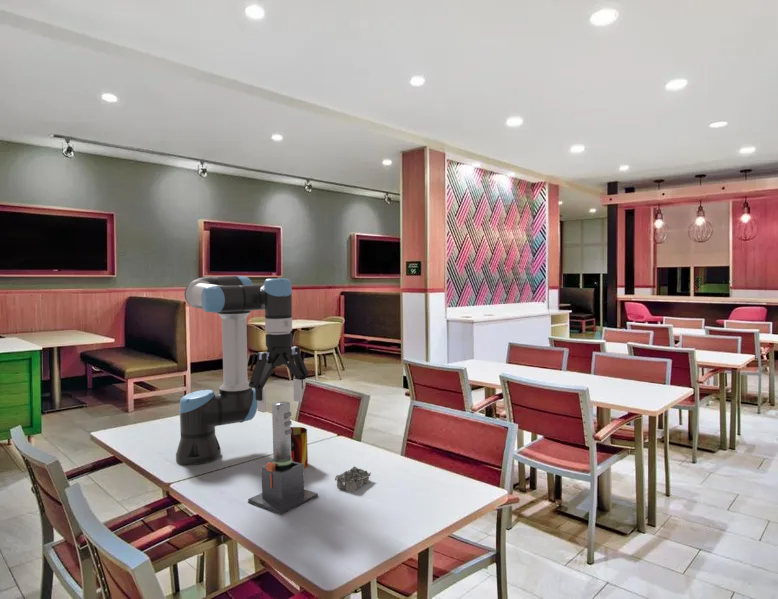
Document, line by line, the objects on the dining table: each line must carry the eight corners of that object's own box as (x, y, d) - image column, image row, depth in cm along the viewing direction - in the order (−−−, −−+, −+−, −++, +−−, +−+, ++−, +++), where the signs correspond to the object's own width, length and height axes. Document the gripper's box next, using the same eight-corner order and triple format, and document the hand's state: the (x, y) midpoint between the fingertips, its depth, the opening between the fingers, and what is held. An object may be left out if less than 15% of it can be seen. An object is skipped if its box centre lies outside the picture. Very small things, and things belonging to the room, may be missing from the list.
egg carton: (351, 493, 156) (350, 480, 155) (332, 488, 160) (332, 474, 160) (373, 481, 164) (373, 469, 164) (355, 476, 169) (354, 464, 168)
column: (269, 473, 150) (267, 404, 150) (283, 467, 155) (281, 400, 154) (283, 477, 147) (281, 407, 146) (297, 471, 151) (295, 402, 150)
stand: (248, 502, 150) (247, 461, 149) (285, 486, 161) (284, 447, 161) (281, 515, 142) (280, 471, 141) (318, 496, 153) (317, 456, 152)
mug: (292, 477, 168) (291, 440, 168) (274, 464, 180) (273, 430, 179) (318, 470, 174) (317, 434, 173) (300, 458, 185) (299, 425, 185)
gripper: (252, 338, 137) (254, 418, 138) (319, 329, 157) (320, 399, 158) (234, 336, 141) (236, 414, 143) (301, 327, 161) (302, 395, 163)
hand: (280, 406), depth 150 cm, fingers open, 13 cm apart
